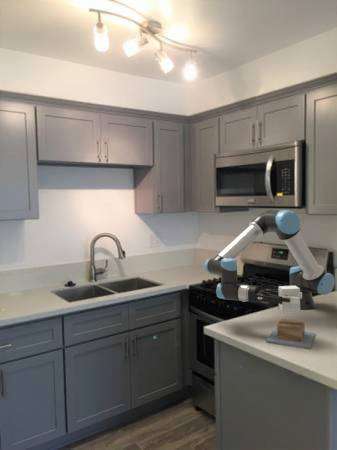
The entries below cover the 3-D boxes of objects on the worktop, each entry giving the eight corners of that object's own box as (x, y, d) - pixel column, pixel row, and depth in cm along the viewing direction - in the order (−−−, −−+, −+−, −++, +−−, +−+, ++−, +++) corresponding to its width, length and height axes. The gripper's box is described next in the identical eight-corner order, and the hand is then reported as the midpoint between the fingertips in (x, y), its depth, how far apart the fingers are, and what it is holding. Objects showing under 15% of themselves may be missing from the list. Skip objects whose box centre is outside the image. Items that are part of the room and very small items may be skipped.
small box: (295, 308, 171) (295, 285, 170) (300, 312, 165) (300, 288, 165) (278, 308, 171) (278, 285, 170) (282, 312, 165) (282, 288, 165)
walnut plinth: (281, 331, 175) (281, 318, 175) (304, 334, 171) (304, 321, 170) (277, 338, 167) (277, 325, 166) (301, 341, 162) (301, 328, 162)
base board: (275, 329, 181) (275, 327, 181) (315, 334, 173) (315, 332, 172) (266, 342, 165) (266, 340, 165) (309, 348, 157) (309, 346, 157)
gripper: (255, 295, 186) (304, 300, 175) (242, 307, 167) (296, 313, 156) (255, 280, 185) (303, 284, 175) (242, 290, 167) (295, 295, 156)
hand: (300, 298), depth 166 cm, fingers closed on small box, 9 cm apart
